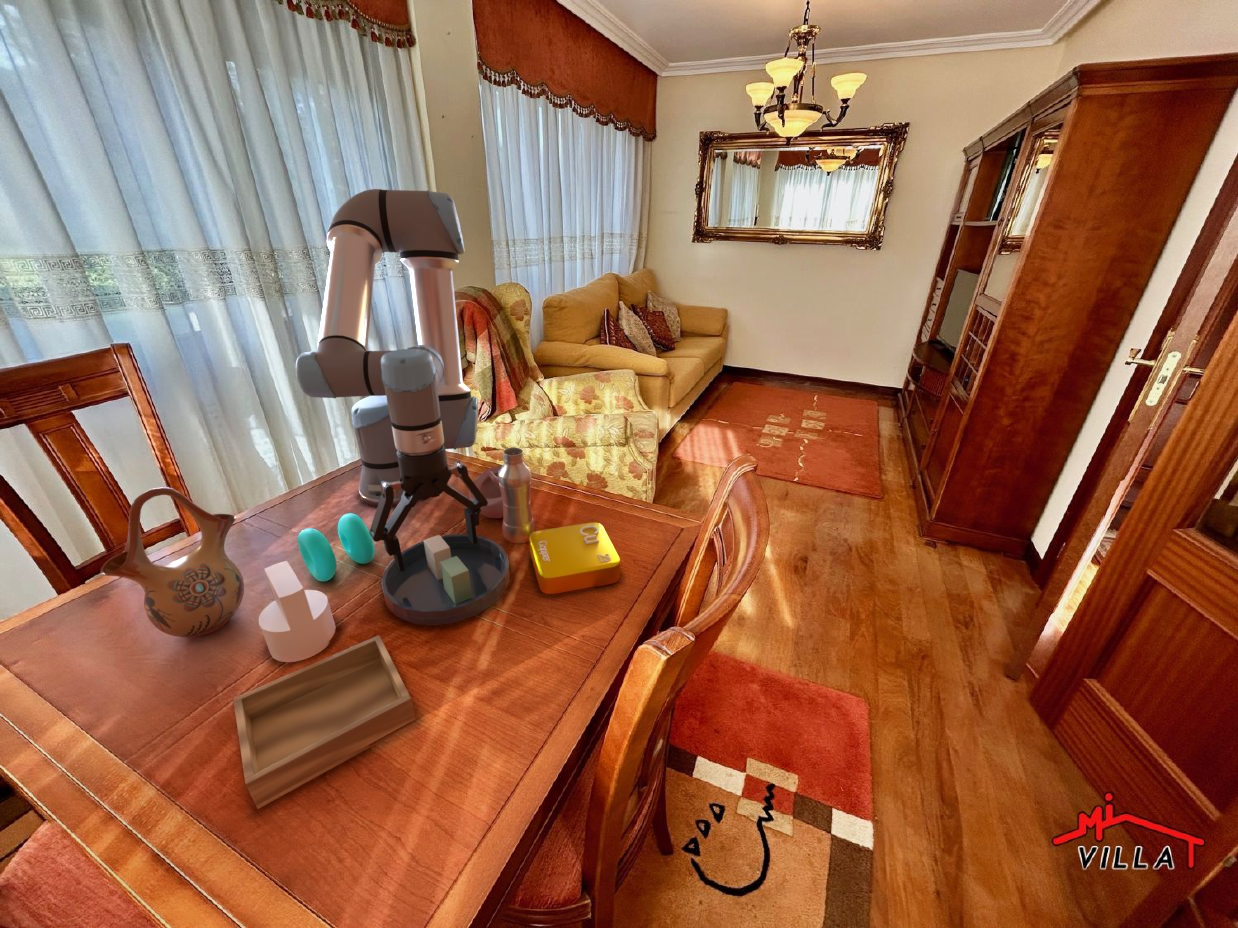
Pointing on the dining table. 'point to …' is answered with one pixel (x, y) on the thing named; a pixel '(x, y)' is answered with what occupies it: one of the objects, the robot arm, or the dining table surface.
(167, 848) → the dining table surface
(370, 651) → the holder
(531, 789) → the dining table surface
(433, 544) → the beige rectangular block
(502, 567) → the dark grey round tray
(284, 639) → the base with upright slab
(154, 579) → the ceramic vessel
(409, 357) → the robot arm
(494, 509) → the pink rounded hollow piece
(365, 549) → the donuts
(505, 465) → the silver metal bottle
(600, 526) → the element tile
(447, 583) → the green rectangular block
